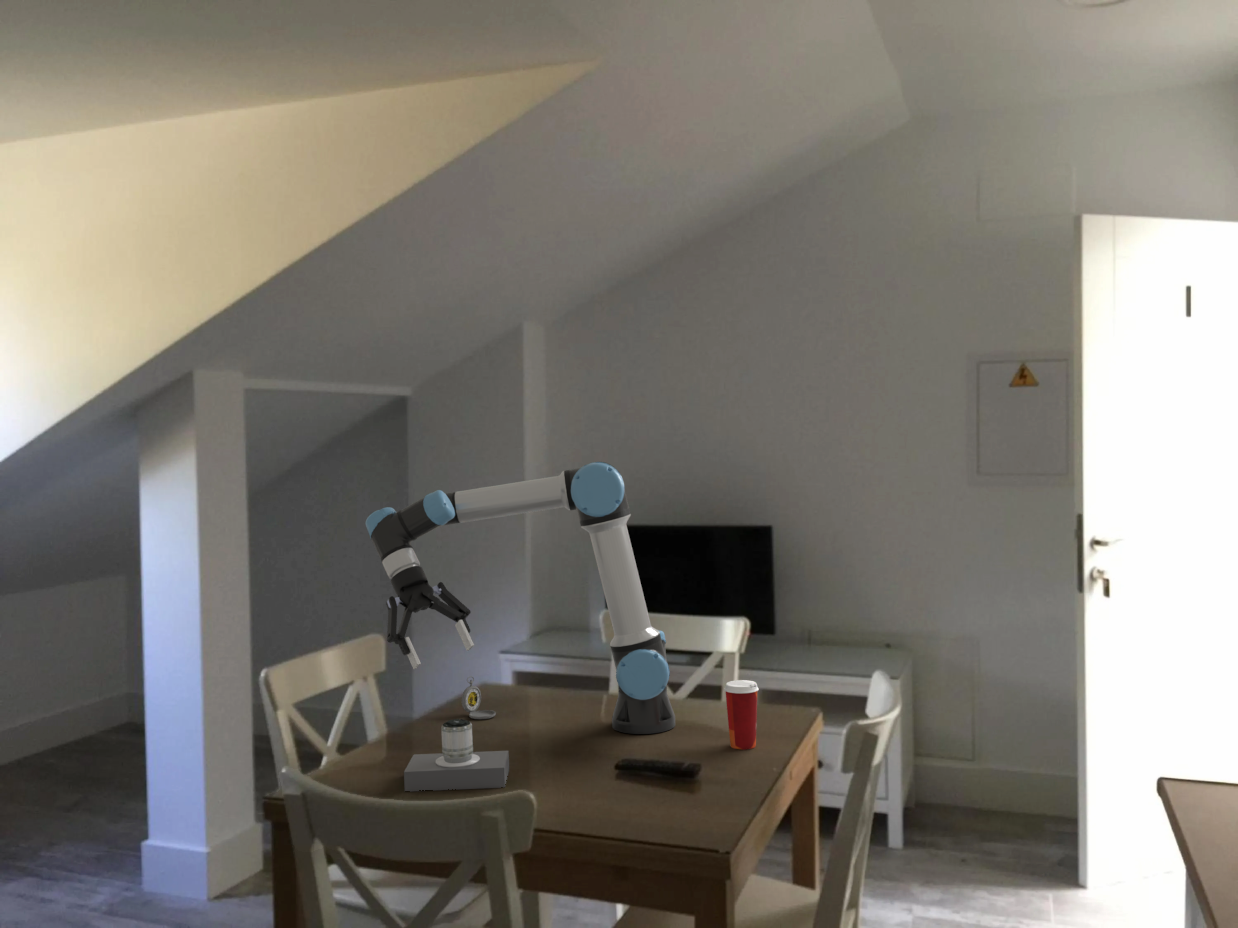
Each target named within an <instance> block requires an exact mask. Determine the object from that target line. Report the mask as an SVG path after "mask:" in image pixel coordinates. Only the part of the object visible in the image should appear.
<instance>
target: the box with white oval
mask: <svg viewBox="0 0 1238 928" xmlns="http://www.w3.org/2000/svg"><path fill="white" fill-rule="evenodd" d="M509 752H510V751H509V750H494V751H493V750H490V751H473V754H472V759H471V760H469V761H466V762H462V763H448V762H445V761H444V757H443V752H441V753H439V752H438V753H420V754H419V753H418V754H417V753H416V754H415V753H414V754H413V755H412V757H411V758H410V760H409V762H408V764H407V766H406V767H405V769H404V770H403V781H404V782H403V783H404V792H405V791H410V792H426V791H425V790H433V791H450V790H452V789H453V790H455V789H456V790H475V789H477V790H478V789H500V788H501V787H503V788H506V785H507V781H508V777H507V776H509V774H510V773H509V772H510V757H509V756H510V755H509V754H510V753H509ZM506 780H507V781H506ZM505 784H506V785H505ZM448 789H449V790H448ZM419 790H421V791H419ZM422 790H424V791H422ZM456 790H455V791H456Z"/></svg>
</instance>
